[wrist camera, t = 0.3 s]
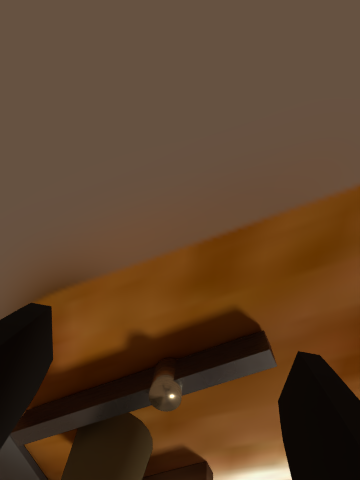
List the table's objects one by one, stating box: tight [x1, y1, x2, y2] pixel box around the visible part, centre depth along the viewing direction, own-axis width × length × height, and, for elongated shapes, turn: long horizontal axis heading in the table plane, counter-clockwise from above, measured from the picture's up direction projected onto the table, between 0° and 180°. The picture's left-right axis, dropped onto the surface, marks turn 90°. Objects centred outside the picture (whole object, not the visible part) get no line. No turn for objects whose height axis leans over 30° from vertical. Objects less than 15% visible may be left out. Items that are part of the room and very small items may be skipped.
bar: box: [10, 331, 277, 446], centre depth 20 cm, size 19×2×2 cm, turn 115°
